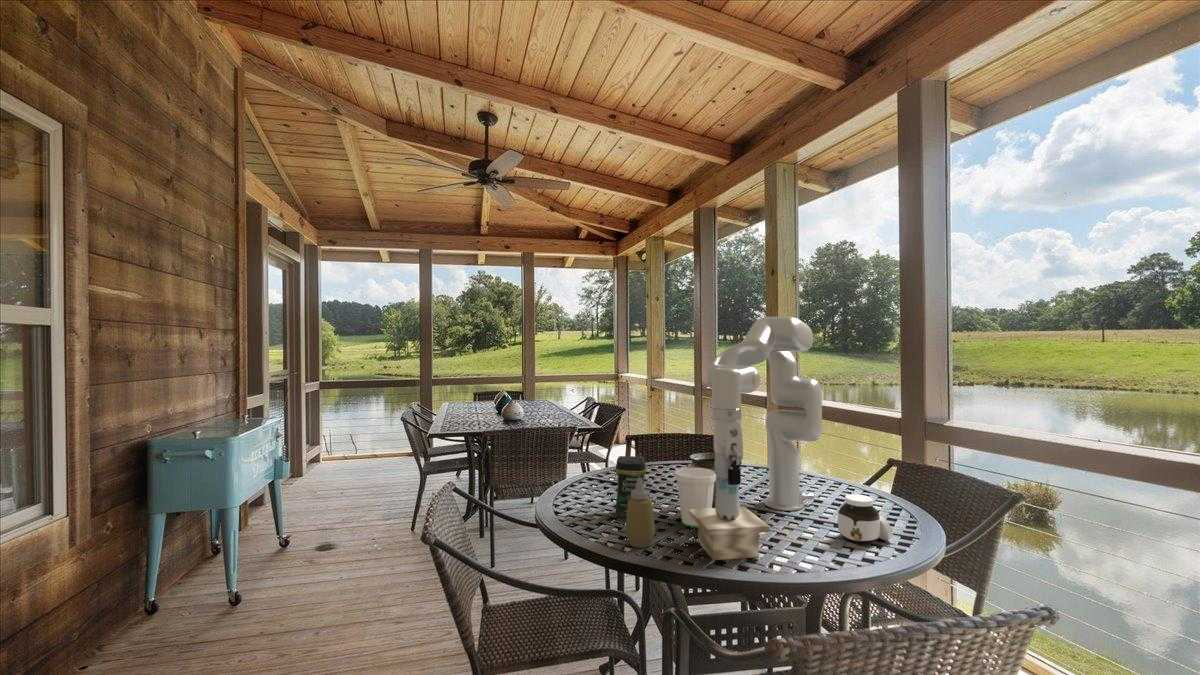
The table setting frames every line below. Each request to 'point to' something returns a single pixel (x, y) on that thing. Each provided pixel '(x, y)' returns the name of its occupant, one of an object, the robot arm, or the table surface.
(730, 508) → the bottle
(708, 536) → the stand
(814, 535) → the table surface
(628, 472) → the coffee jar
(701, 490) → the cup
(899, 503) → the table surface
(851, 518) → the spread jar
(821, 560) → the table surface
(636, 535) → the squeeze bottle
